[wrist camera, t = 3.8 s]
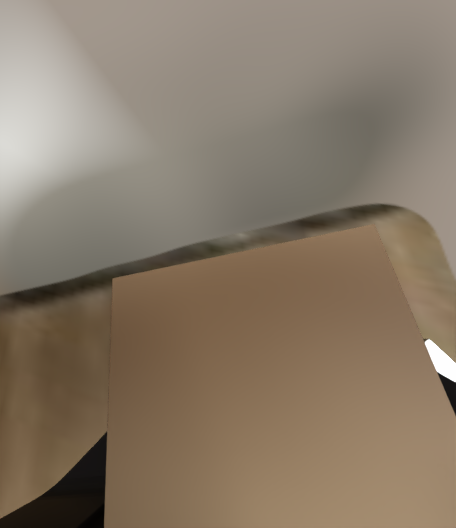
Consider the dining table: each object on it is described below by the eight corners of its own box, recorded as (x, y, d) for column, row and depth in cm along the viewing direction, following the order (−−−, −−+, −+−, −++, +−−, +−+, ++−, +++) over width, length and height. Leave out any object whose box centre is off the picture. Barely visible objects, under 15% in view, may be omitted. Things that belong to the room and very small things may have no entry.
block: (348, 381, 14) (999, 760, 1) (210, 398, 15) (-75, 690, 3) (325, 302, 15) (536, 170, 3) (203, 323, 17) (6, 285, 4)
